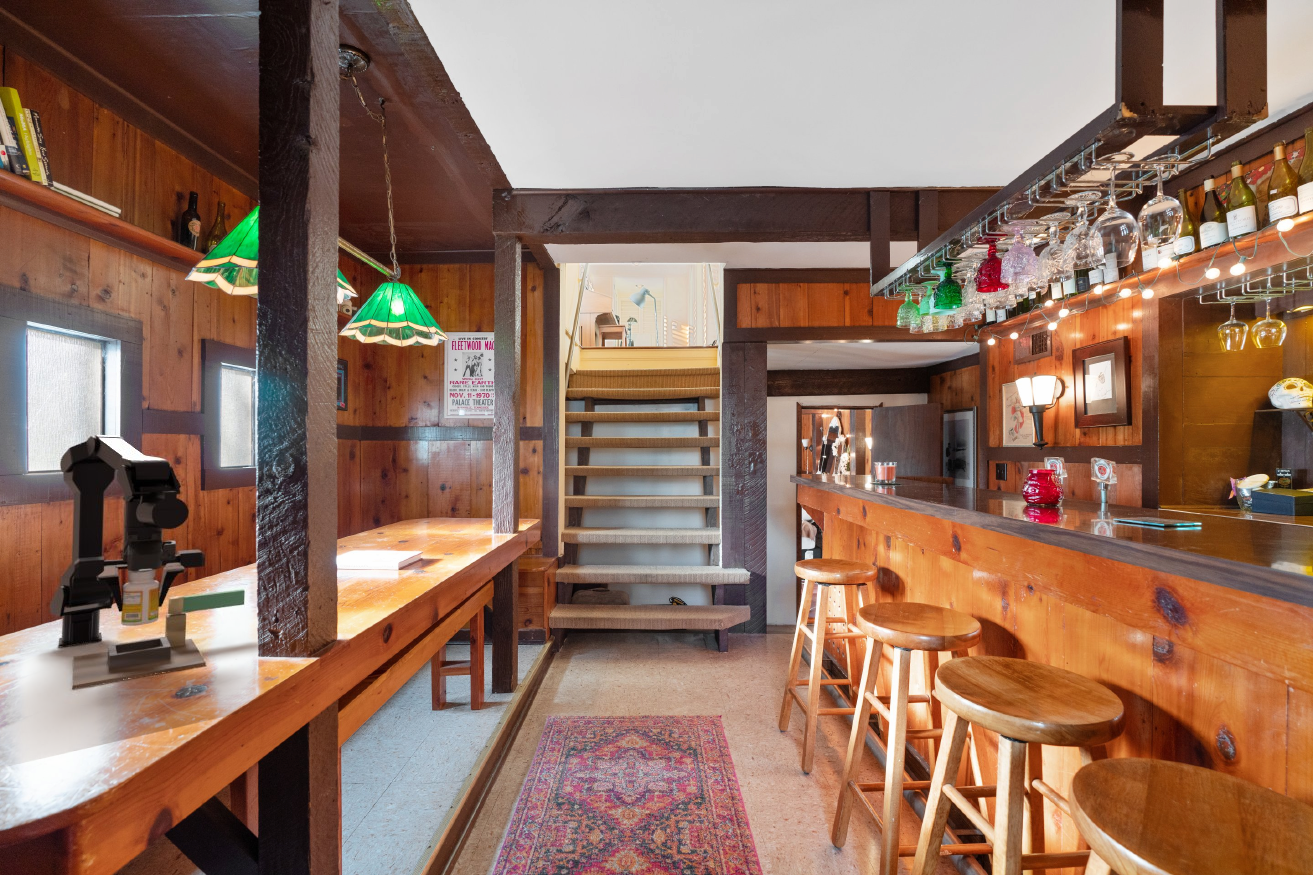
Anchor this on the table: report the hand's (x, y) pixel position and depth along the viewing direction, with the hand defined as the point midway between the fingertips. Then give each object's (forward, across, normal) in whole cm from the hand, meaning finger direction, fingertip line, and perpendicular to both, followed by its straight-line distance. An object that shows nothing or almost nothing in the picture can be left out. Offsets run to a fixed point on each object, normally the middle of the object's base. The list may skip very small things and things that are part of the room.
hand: (140, 608), depth 116 cm
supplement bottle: (+3, 0, 0) cm, 3 cm away
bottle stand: (+10, 0, 0) cm, 10 cm away
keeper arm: (+3, +11, +7) cm, 13 cm away
